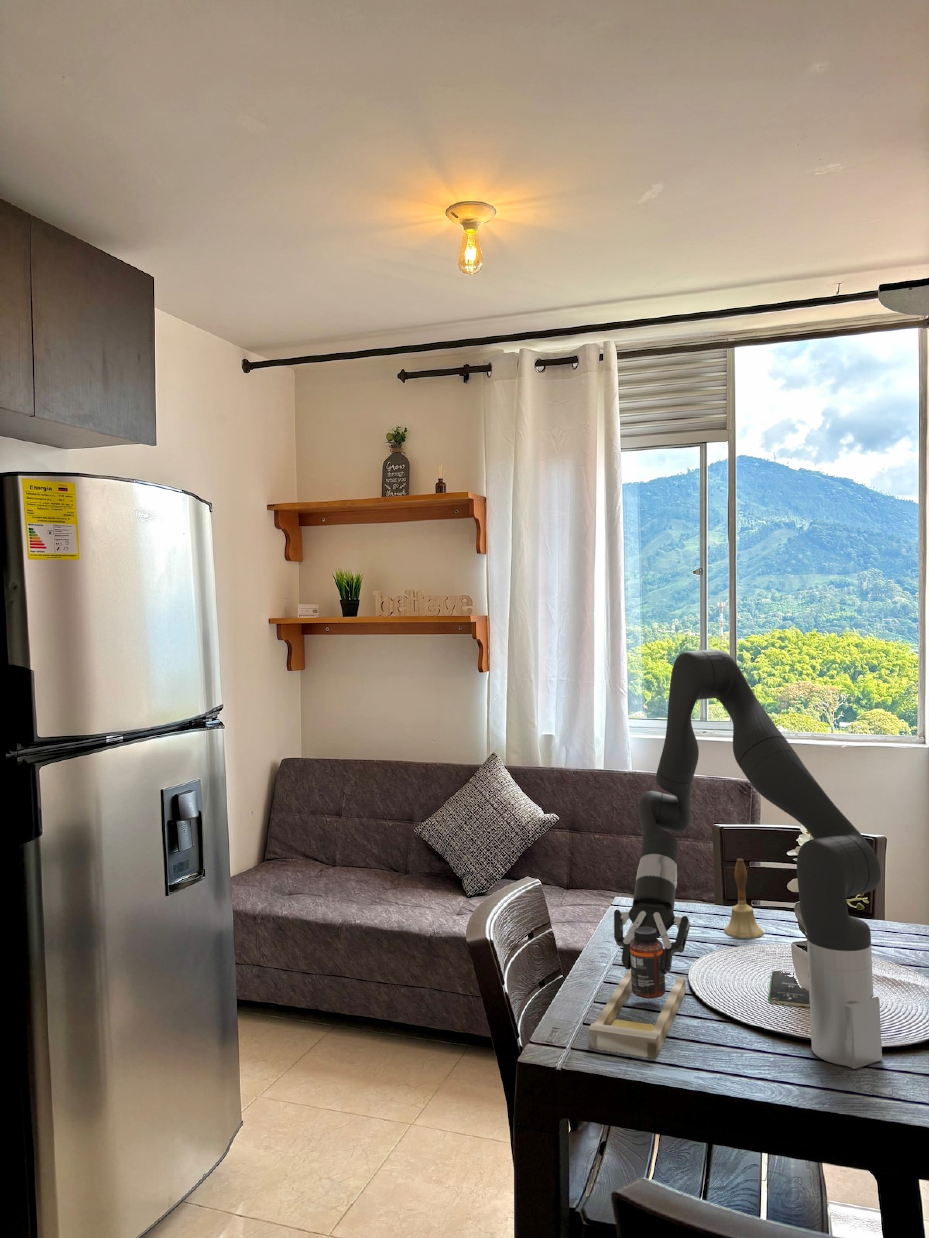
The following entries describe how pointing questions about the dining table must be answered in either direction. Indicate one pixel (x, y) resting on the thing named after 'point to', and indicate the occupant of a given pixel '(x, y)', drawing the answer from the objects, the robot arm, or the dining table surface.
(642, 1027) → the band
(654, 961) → the supplement bottle
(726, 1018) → the dining table surface
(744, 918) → the hand bell
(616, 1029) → the open wooden tray frame
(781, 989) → the small black book
